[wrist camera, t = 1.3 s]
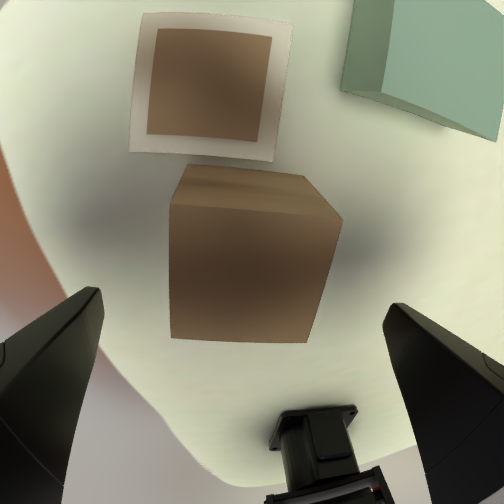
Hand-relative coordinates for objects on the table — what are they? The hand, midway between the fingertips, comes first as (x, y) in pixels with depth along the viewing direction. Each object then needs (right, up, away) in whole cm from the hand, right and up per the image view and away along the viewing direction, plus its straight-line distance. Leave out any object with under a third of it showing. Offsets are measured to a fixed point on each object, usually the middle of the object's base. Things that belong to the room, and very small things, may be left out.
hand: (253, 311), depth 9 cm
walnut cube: (-1, +3, +5) cm, 6 cm away
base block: (+7, +11, +2) cm, 13 cm away
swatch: (-2, +8, +2) cm, 9 cm away
